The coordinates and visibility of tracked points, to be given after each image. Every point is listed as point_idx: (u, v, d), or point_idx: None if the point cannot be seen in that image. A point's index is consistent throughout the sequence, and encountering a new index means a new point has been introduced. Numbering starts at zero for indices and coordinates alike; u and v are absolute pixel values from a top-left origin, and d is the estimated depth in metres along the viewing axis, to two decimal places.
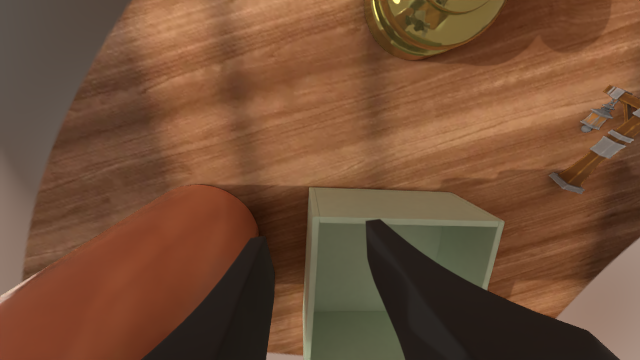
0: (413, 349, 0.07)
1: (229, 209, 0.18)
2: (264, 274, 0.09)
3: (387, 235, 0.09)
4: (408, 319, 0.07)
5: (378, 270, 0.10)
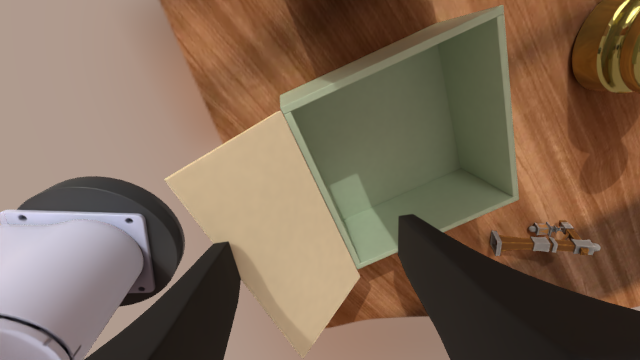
0: (461, 341, 0.07)
1: None
2: (224, 280, 0.09)
3: (426, 229, 0.09)
4: (455, 311, 0.07)
5: (414, 264, 0.10)
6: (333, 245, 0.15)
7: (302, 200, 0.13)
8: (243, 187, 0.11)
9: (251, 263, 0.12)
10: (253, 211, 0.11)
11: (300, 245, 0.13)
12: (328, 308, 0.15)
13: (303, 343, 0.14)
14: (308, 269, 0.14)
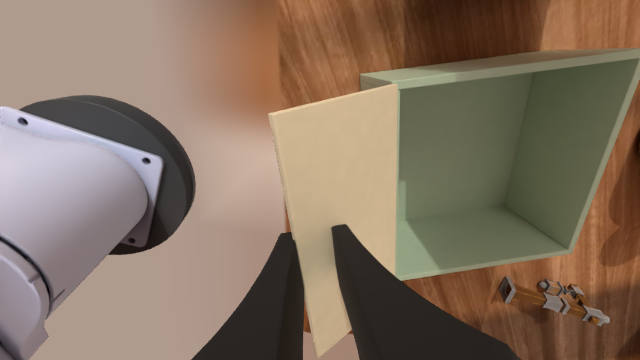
0: (363, 357, 0.07)
1: None
2: (297, 269, 0.10)
3: (347, 241, 0.09)
4: (358, 327, 0.07)
5: (340, 276, 0.10)
6: (386, 249, 0.14)
7: (379, 191, 0.12)
8: (336, 153, 0.09)
9: (312, 240, 0.10)
10: (335, 184, 0.10)
11: (360, 238, 0.12)
12: None
13: (324, 342, 0.12)
14: None
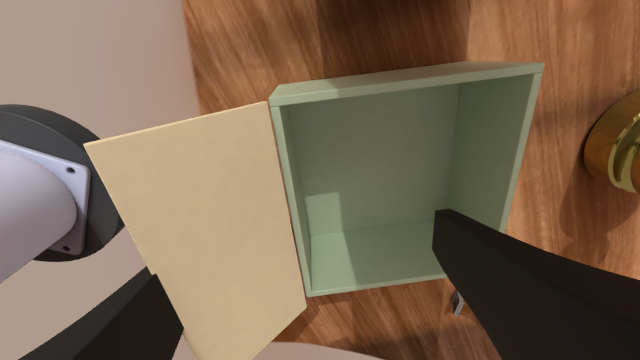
0: (513, 332, 0.07)
1: None
2: None
3: (468, 223, 0.09)
4: (508, 303, 0.07)
5: (454, 258, 0.10)
6: (286, 268, 0.13)
7: (264, 210, 0.11)
8: (194, 179, 0.09)
9: (179, 273, 0.09)
10: (199, 211, 0.09)
11: (247, 262, 0.11)
12: (261, 338, 0.13)
13: None
14: (249, 291, 0.12)
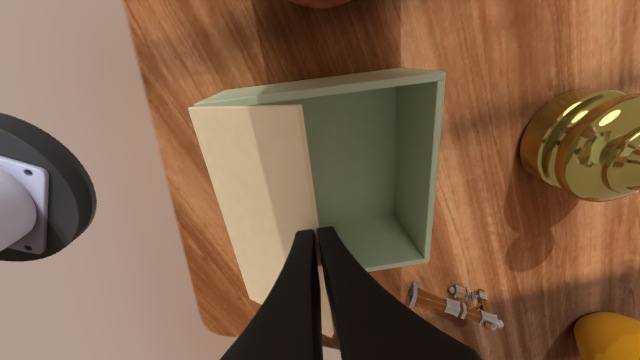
0: None
1: None
2: (315, 266, 0.10)
3: (330, 244, 0.09)
4: (338, 331, 0.07)
5: (325, 278, 0.10)
6: None
7: None
8: None
9: None
10: None
11: None
12: None
13: None
14: None
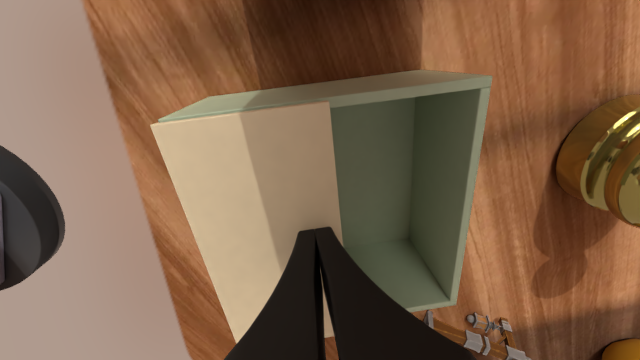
0: None
1: None
2: (318, 265, 0.10)
3: (328, 244, 0.09)
4: (335, 331, 0.07)
5: (323, 279, 0.10)
6: None
7: None
8: None
9: None
10: None
11: None
12: None
13: None
14: None
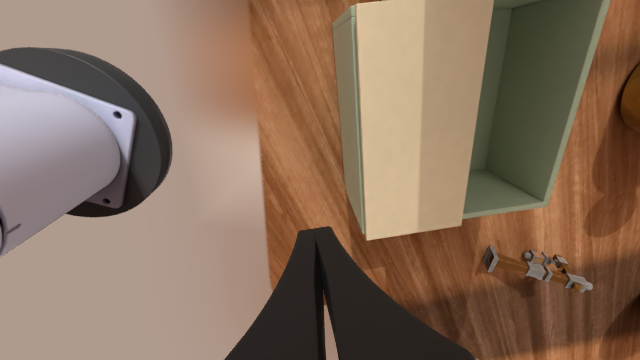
0: None
1: None
2: (318, 266, 0.10)
3: (328, 244, 0.09)
4: None
5: (323, 279, 0.10)
6: None
7: None
8: None
9: None
10: None
11: None
12: None
13: None
14: None
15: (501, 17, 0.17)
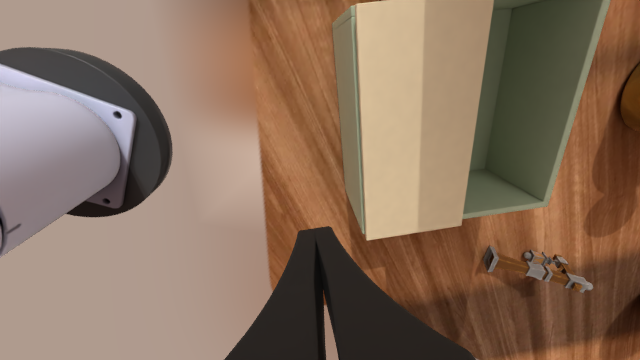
0: None
1: None
2: (318, 266, 0.10)
3: (328, 244, 0.09)
4: None
5: (323, 279, 0.10)
6: None
7: None
8: None
9: None
10: None
11: None
12: None
13: None
14: None
15: (500, 17, 0.17)
